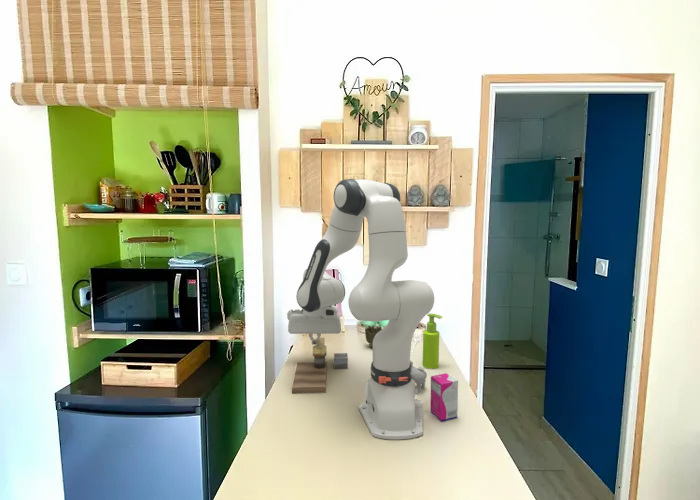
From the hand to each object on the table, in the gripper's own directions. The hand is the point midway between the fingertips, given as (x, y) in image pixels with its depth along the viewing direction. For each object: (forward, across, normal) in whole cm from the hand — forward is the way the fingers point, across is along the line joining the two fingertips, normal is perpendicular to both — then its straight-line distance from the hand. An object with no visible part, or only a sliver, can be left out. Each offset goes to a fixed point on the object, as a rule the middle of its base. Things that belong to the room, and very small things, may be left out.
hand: (314, 344), depth 154 cm
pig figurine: (+7, +33, -21) cm, 39 cm away
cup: (+7, +24, +15) cm, 29 cm away
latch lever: (+1, +2, -5) cm, 5 cm away
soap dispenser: (+7, +44, -5) cm, 45 cm away
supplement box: (+7, +40, -39) cm, 56 cm away
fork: (+8, +42, +17) cm, 46 cm away
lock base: (+7, +3, -13) cm, 15 cm away
